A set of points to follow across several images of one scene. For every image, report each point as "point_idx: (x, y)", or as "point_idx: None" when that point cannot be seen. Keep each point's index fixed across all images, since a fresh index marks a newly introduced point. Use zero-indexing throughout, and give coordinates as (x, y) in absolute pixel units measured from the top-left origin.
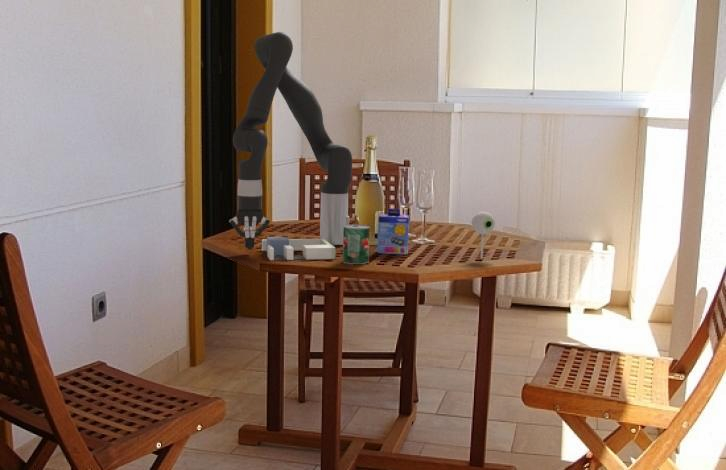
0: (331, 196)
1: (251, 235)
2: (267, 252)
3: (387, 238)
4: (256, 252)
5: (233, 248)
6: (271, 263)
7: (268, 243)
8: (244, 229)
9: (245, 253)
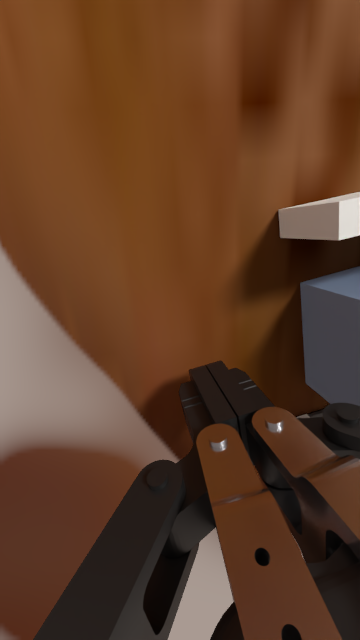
0: None
1: (271, 490)
2: (305, 315)
3: None
4: (239, 296)
5: (37, 113)
6: (292, 535)
7: (355, 373)
8: (224, 561)
9: (172, 343)
